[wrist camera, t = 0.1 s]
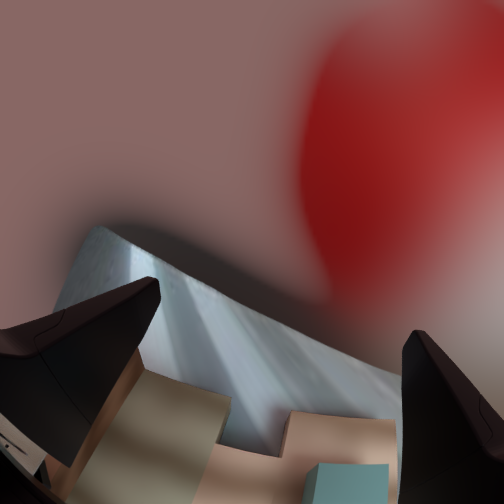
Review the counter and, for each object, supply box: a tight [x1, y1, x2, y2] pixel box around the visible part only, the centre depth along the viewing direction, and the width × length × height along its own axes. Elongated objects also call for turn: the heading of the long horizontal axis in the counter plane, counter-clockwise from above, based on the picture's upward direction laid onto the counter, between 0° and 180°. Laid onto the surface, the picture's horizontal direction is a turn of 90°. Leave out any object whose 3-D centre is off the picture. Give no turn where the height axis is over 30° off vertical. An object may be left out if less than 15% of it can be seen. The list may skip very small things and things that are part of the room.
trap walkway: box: [44, 347, 397, 504], centre depth 12 cm, size 16×24×6 cm, turn 77°
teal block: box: [301, 463, 389, 504], centre depth 11 cm, size 5×5×3 cm
